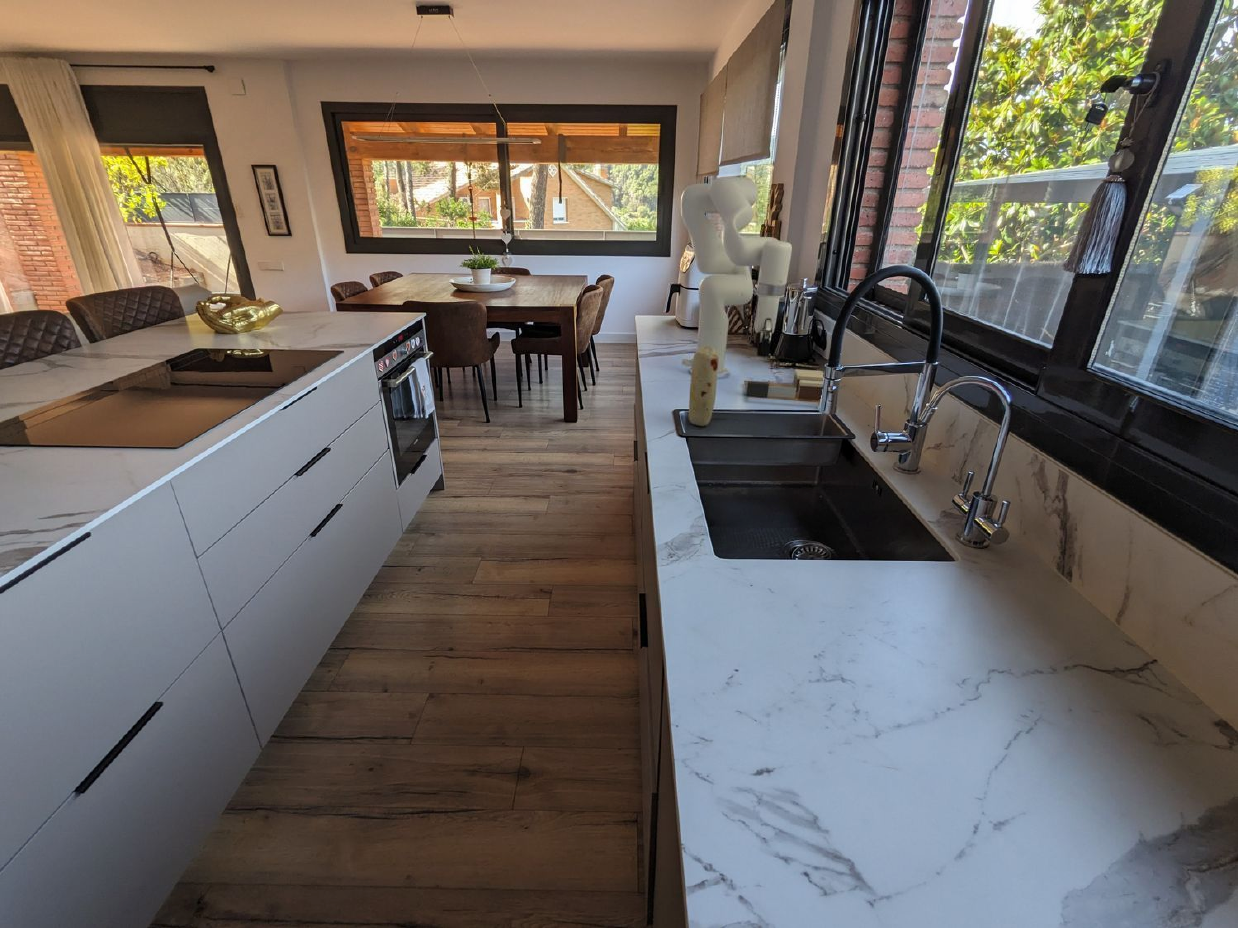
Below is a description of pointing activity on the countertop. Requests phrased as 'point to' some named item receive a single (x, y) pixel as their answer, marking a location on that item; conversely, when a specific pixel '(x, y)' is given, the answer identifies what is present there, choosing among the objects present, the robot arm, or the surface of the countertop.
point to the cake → (806, 376)
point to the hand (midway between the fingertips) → (761, 351)
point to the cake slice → (810, 389)
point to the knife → (769, 390)
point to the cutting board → (779, 397)
